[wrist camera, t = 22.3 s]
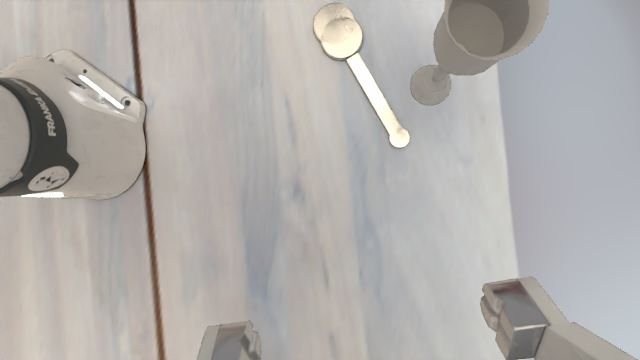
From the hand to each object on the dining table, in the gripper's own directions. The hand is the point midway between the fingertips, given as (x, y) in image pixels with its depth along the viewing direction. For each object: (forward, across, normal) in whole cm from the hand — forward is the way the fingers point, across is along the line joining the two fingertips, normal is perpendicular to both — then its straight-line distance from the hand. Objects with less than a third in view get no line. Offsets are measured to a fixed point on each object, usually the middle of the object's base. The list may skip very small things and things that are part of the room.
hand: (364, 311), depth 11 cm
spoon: (+34, -5, +2) cm, 34 cm away
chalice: (+32, -13, +4) cm, 35 cm away
